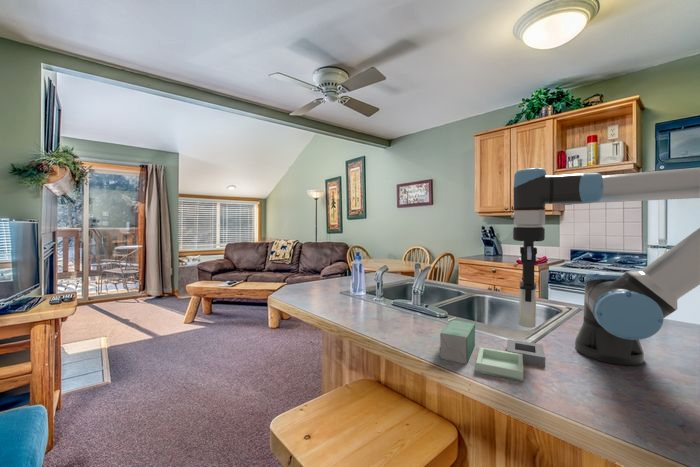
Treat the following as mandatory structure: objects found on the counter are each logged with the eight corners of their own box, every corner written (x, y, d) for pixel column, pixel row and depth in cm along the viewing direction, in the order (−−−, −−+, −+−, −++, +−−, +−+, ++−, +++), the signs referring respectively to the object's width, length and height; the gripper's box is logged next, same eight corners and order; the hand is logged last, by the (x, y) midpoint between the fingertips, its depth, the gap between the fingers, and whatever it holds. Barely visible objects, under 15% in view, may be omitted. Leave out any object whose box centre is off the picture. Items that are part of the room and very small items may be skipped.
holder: (542, 353, 91) (542, 344, 91) (544, 366, 83) (545, 357, 83) (507, 347, 95) (507, 339, 95) (506, 359, 87) (506, 350, 87)
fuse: (535, 323, 89) (536, 281, 89) (536, 328, 86) (536, 284, 85) (518, 321, 91) (519, 280, 90) (519, 326, 87) (519, 283, 87)
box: (475, 346, 96) (475, 322, 96) (467, 364, 85) (467, 337, 84) (450, 341, 100) (450, 318, 100) (439, 358, 89) (439, 332, 88)
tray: (522, 363, 85) (522, 354, 85) (523, 382, 76) (523, 371, 76) (480, 355, 90) (480, 347, 90) (476, 372, 81) (476, 362, 80)
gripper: (513, 225, 96) (512, 301, 97) (513, 227, 81) (512, 317, 82) (542, 225, 93) (540, 304, 94) (547, 227, 77) (546, 321, 79)
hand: (527, 310), depth 88 cm, fingers closed on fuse, 4 cm apart
